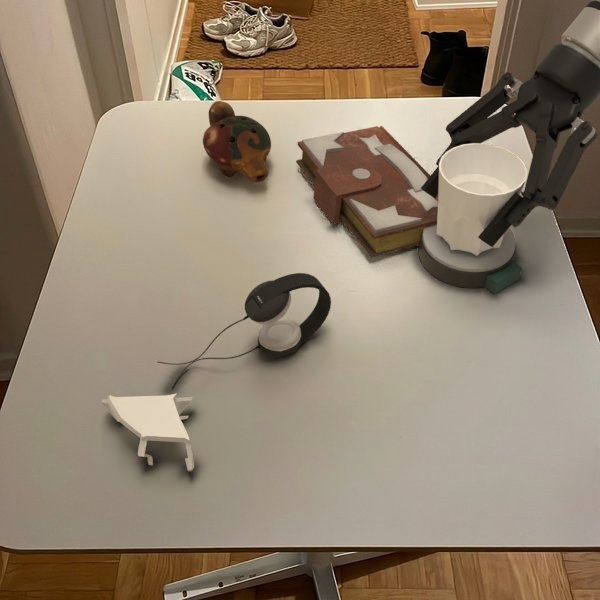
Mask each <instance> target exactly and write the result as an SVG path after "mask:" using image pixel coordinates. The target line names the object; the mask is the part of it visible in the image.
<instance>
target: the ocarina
mask: <svg viewBox="0 0 600 600" xmlns="http://www.w3.org/2000/svg"><path fill="white" fill-rule="evenodd" d="M208 122H209V127H208V128H207V129H205V131H204V133H203V136H202V145H203V148H204V151H205V153H206V154H207V156H208V157H209V158H210V160H211V161H212V162H213V164H215V166H216V167H217V168H218V170H219V172H220V173H221V174H222V175H223V177H224V178H225V177H226V178H228V179H230V178H233V177H234V176H236V174H237V173H238V172H239V173H241V174H242V175H243V176H245V177H246V179H248V180H249V181H250V182H252V183H255V184H257V183H261V182H264V181H265V180H266V179H267V178H268V176H269V168H268V167H267V165H266V160H267V158H268V156H269V155H270V152H271V150H272V139H271V136H270V134H269V132H268V130H267V129H266V128H265V127H264V125H262V124H261V123H260V122H258V120H255V119H254V118H252V117H250V116H246V115H236V112H235V111H234V108H233V106H232V105H231V104H230V103H228V102H226V101H222V100H217V101H214V102H212V104H211V106H210V108H209V109H208Z"/></svg>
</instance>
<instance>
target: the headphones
mask: <svg viewBox="0 0 600 600" xmlns="http://www.w3.org/2000/svg"><path fill="white" fill-rule="evenodd" d="M305 288H311V289H316V290H318V297H317V302H316V304H315V306H314V307H313V309H312V311H311V312H310V314H309V315H308V316H307V317H306V318H305V320H303V322H302V323H300V324H299V323H298V322H297V321H295V320H293V319H290V318H283V317H284V316H285V315H286V314H287V312H288V310H289V309H290V306H291V304H292V295H291V292H292V291H296V290H299V289H305ZM331 305H332V299H331V295H330V292H329V291H328V290H327V288H325V286H324V285H323V284H322V283H321V281H320V280H319V279H318V278H317V277H316V276H314V275H312V274H311V273H310V274H309V273H304V272H296V273H290V274H287V275H282V276H280V277H278V278H276V279H274V280H267V281H264V282H261V283H259V284H258V285H256V286H255V287H254V288H253V289H252V290H251V291H250V292H249V293H248V295H247V297H246V299H245V302H244V310H245V314H246V316H245V315H244V317H243V318H241V319H239V320H237V321H235V322H233V323H231V324H230V325H228V326H227V327H225V328H224V329H223V330H221V331H220V332H219V333H218V334H217V335H216V336H215V337H214V338H213V340H212V341H211V342H210V343H209V345H208V346H207V347H206V348H205V350H204V351H202V353H201V354H200V355H199V356H198V357H196V358H195V359H193V360H191V361H188V362H181V363H170V362H163V361H157V363H159V364H162V365H163V364H164V365H170V366H171V365H172V366H175V365H176V366H178V365H179V366H180V365H187V366H186V367H184V369H183V370H182V371H181V373H180V374H179V375H178V377H177V378H176V379H175V382H174V383H173V385H172V386H171V388H172V389H173V388H174V387H175V385H176V383H177V382H178V380H179V378H180V377H181V376H182V375H183V373H184V372H185V371H186V369H187V368H189V367H190V366H191V365H192V364H193V363H195V362H198V361H202V360H229V359H235V358H239V357H242V356H245V355H247V354H250V353H251V352H253V351H255V350H258V349H259V350H260V351H261V352H262V353H263V354H265V355H267V356H269V357H274V358H275V357H276V358H277V357H279V358H281V357H285V356H288V355H290V354H292V353H294V352H296V351H297V350H298V348H299V347H300V345H302V344H303V343H304V342H306V341H307V340H309V339H310V338H311V337H312V336H313V335H314V334H316V333H317V331H319V329H320V328H321V327H322V325H324V323H325V321H326V320H327V318H328V316H329V314H330V311H331V307H332V306H331ZM247 319H250V320H251V321H252V322H255V323H257V324H259V325H261V327H260V329H259V332H258V336H257V346H255V347H254V348H252V349H250V350H248V351H246V352H243V353H241V354H238V355H234V356H228V357H202V356H203V355H204V354H206V351H208V349H210V347H211V346H212V345H213V343H214V342H215V341H216V340H217V338H219V337H220V335H221V334H223V333H224V332H225V331H227V330H228V329H229V328H231V327H233V326H234V325H237V324H238V323H240V322H244V321H246V320H247ZM201 357H202V358H201Z"/></svg>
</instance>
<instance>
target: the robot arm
mask: <svg viewBox="0 0 600 600" xmlns="http://www.w3.org/2000/svg"><path fill="white" fill-rule="evenodd" d="M560 40H561V43H557V44H554V45H553V46H552V47H551V48H550V49H549V51H548V52H547V53H546V55H544V57H543V58H542V60H541V61H540V62H539V64H538V65H537V66H536V68H535V72H534V73H533V75H532V76H531V77H530V78H529V79H527V80H525V81H524V82H523V81H521V80H520V79H517V78H516V77H515V76H514V75H513V73H511V72H509V71H507V72H504V73H503V74H502V75H501V77H500V79H499V80H498V81H497V83H496V84H495V85H494V86H493V88H491V89H490V90H489V91H488V92H486V93H485V94H484V95H482V96H481V97H480V98H478V99H477V101H475V102H474V103H472V104H471V105H470V106H469V107H468V108H467V109H465V110H464V111H463V112H462V113H460V114H459V115H458V116H457V117H456V118H453V120H451V121H450V122H449V123H448V124H447V125H446V127H445V131H446V133H448V135H449V137H450V143H449V145H448V146H447V147H446V148H445V150H444V151H443V152H442V154H441V155H440V156H439V157H438V159H437V160H436V162H435V165H436V166H437V167H436V168H435V169H434V171H433V172H432V173H431V174H430V175H431V176H430V177H429V178H428V179H427V181H426V182H425V183H424V184H423V186H422V187H421V189H422V190H423V191H425V192H426V193H428V194H429V195H431V196H432V197H433V198H436V196H437V195H438V189H439V162H440V160H441V157H442V156H443V155H444V154H445V153H446V152H447V151H449V150H450V149H452V148H454V147H457V146H460V145H463V144H472V143H482V144H483V143H485V142H486V141H489V140H490V139H492V138H495V137H496V136H498V135H500V134H502V133H504V132H507V131H509V130H510V129H516V128H519V127H521V126H522V128H524V129H526V130H528V131H531V132H532V133H533V134H534V135H535V145H534V150H533V153H532V158H531V162H530V165H529V170H528V172H527V177H526V181H525V185H524V190H522V191H521V193H520V195H519V194H518V193H517V192H516V193H515V194H514V195H513V196H512V197H511V199H510V200H509V201H508V202H507V203H506V204H505V206H504V207H503V208H502V209H501V210H500V212H499V213H498V214H497V215H496V216H495V217H494V219H493V220H492V221H491V222H490V223H489V225H488V226H487V227H486V228H485V229H484V230H483V232H482V233H481V234H480V235H479V236H478V238H480V239H481V240H482V241H483V242H485V243H486V244H488V245H489V246H491V247H493V246H494V245H495V244H496V242H497V241H498V240H499V239H500V238H501V237H502V235H503V234H504V233H505V232H506V231H507V230H508V228H509V227H510V228H511V226H512V227H514V228H517V227H519V226H521V224H522V223H523V222H524V220H525V219H526V218H527V217H528V216H529V214H531V212H532V211H533V210H534V209H535V208H537V207H542V208H545V209H547V210H549V211H550V210H551V211H553V210H555V209H556V208H557V207H558V205H559V203H560V201H561V199H562V196H563V194H564V193H565V191H566V189H567V187H568V184H569V183H570V181H571V179H572V177H573V175H574V173H575V170H576V169H577V167H578V165H579V162H580V161H581V159H582V156H583V154H584V152H585V150H586V149H588V147H589V146H590V145H591V144H592V143H593V142H594V141H595V140H596V139H597V137H598V131H597V129H596V128H595V127H593V125H592V124H591V123H590V121H588V120H587V121H584V120H583V119H582V115H583V113H584V112H585V110H586V109H589V108H590V107H591V106H592V105H593V104H594V103H595V101H596V100H597V99H598V98H599V96H600V0H590V1H589V2H588V4H587V5H586V6H585V7H584V8H583V9H582V10H581V11H580V13H578V15H577V16H576V18H574V20H573V21H572V22H571V24H570V25H569V26H568V27H567V29H565V31H564V32H563V33H562V35H560ZM516 97H517V98H516ZM512 98H513V99H514V98H516V100H514V101H512V102H511V103H509V104H507V103H508V102H509V101H510V99H512ZM506 104H507V105H506ZM504 105H505V106H504ZM499 109H501V110H500V111H499V112H497V111H498V110H499ZM567 130H570V132H569V137H568V138H567V140H566V142H565V143H564V145H563V147H562V150H561V151H560V153H559V156H558V158H557V160H556V162H555V163H554V166H553V167H552V170H551V166H552V162H553V156H554V154H555V153H554V152H555V150H556V149H557V147H558V145H559V140H560V135H561V133H562V132H566V131H567ZM550 170H551V171H550Z"/></svg>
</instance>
